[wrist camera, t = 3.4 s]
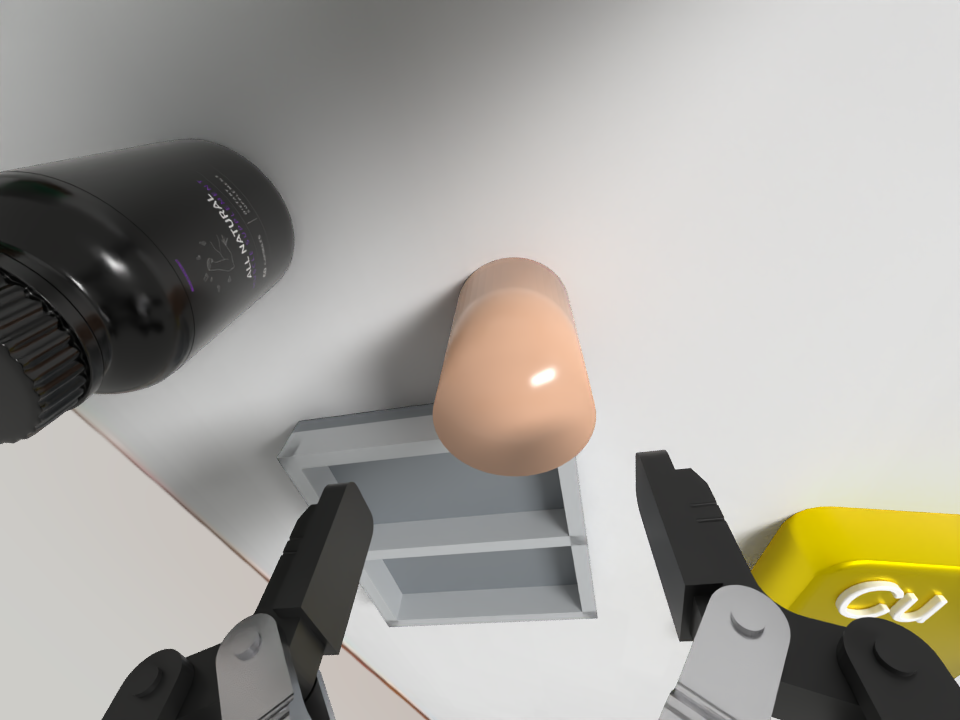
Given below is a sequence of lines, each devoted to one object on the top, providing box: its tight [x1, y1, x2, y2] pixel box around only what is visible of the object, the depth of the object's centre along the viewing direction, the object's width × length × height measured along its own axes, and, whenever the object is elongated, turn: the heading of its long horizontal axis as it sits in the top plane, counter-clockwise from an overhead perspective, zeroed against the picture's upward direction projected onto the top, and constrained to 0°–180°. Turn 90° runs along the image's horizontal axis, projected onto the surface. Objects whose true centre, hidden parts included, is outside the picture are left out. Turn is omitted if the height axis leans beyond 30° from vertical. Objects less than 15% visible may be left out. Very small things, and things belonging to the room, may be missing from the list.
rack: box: [277, 404, 598, 627], centre depth 29 cm, size 16×19×3 cm
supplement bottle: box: [0, 139, 294, 444], centre depth 15 cm, size 7×7×12 cm
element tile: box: [751, 507, 960, 678], centre depth 30 cm, size 15×15×5 cm
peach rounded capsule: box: [433, 258, 596, 476], centre depth 18 cm, size 6×6×8 cm
